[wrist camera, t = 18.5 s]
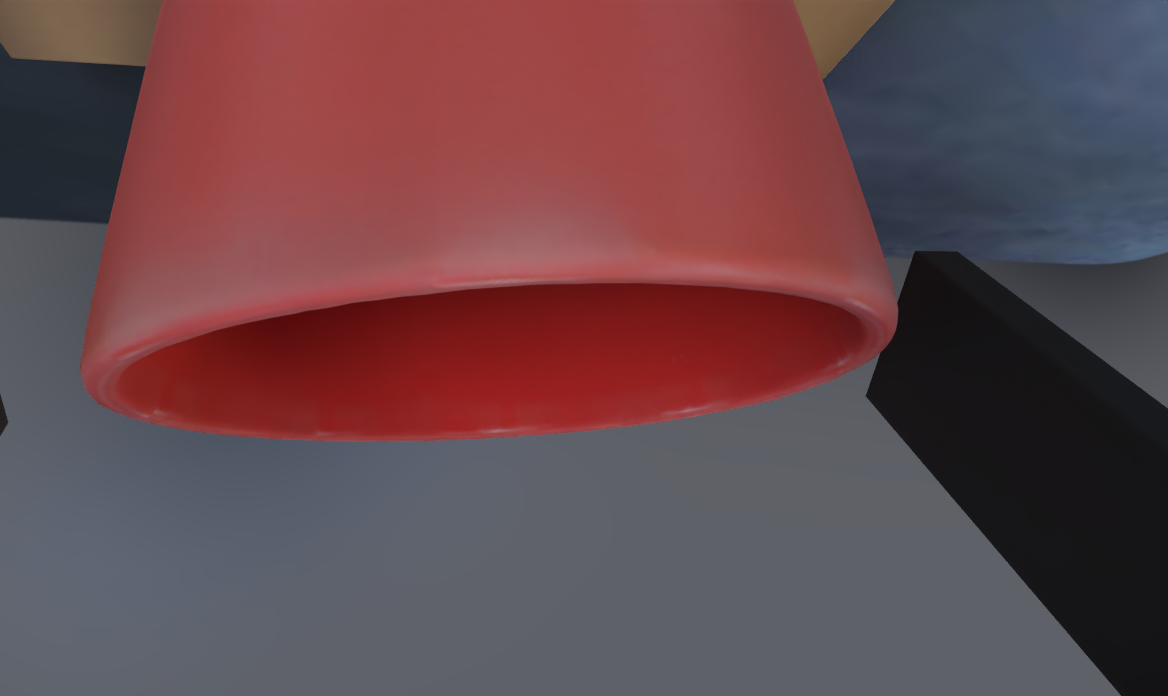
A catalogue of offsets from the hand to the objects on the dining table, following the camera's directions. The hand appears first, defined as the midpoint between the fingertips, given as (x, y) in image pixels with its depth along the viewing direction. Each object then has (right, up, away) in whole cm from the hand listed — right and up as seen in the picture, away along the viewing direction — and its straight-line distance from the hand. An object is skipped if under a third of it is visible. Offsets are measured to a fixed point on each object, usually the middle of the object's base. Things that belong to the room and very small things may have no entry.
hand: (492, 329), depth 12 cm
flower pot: (-1, +9, +2) cm, 9 cm away
